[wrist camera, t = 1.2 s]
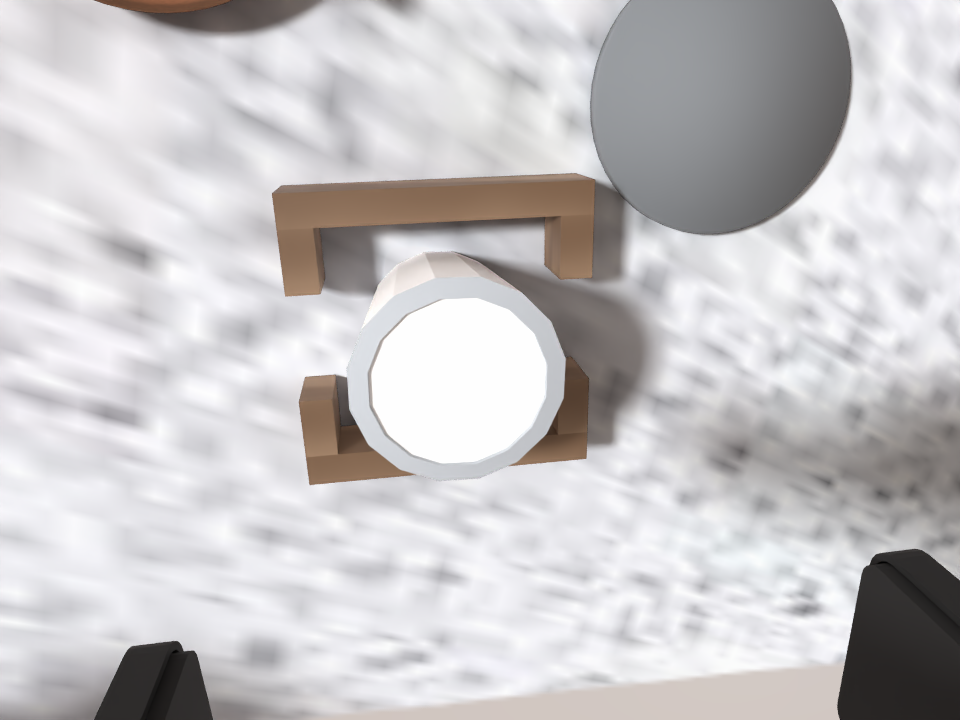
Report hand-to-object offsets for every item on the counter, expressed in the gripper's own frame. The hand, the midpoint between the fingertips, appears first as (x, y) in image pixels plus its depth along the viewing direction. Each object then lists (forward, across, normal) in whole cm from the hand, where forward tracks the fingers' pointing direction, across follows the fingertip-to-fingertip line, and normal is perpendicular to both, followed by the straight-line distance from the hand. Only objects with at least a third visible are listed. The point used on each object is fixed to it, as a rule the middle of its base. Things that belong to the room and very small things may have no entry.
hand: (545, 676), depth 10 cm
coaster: (+19, -11, -7) cm, 23 cm away
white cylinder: (+19, 0, +1) cm, 19 cm away
